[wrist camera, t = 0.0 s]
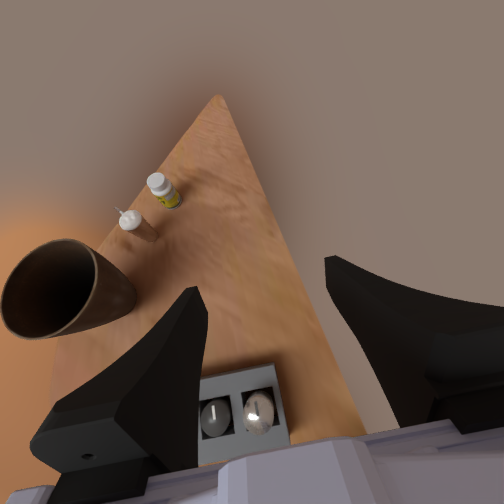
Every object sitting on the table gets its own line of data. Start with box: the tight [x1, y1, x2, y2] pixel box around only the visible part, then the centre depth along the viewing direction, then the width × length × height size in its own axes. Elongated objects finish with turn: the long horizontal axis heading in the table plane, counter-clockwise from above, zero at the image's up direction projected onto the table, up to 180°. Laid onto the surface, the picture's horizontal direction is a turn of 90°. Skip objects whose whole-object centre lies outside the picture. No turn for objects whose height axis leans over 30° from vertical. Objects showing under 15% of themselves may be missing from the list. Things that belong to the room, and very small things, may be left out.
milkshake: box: [114, 207, 158, 242], centre depth 47 cm, size 4×5×10 cm
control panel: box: [198, 362, 291, 465], centre depth 36 cm, size 11×21×4 cm, turn 101°
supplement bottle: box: [147, 173, 182, 209], centre depth 51 cm, size 5×5×8 cm
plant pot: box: [0, 239, 137, 340], centre depth 40 cm, size 15×15×16 cm
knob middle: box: [201, 396, 233, 437], centre depth 35 cm, size 4×4×4 cm
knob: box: [243, 390, 274, 435], centre depth 33 cm, size 4×4×4 cm
